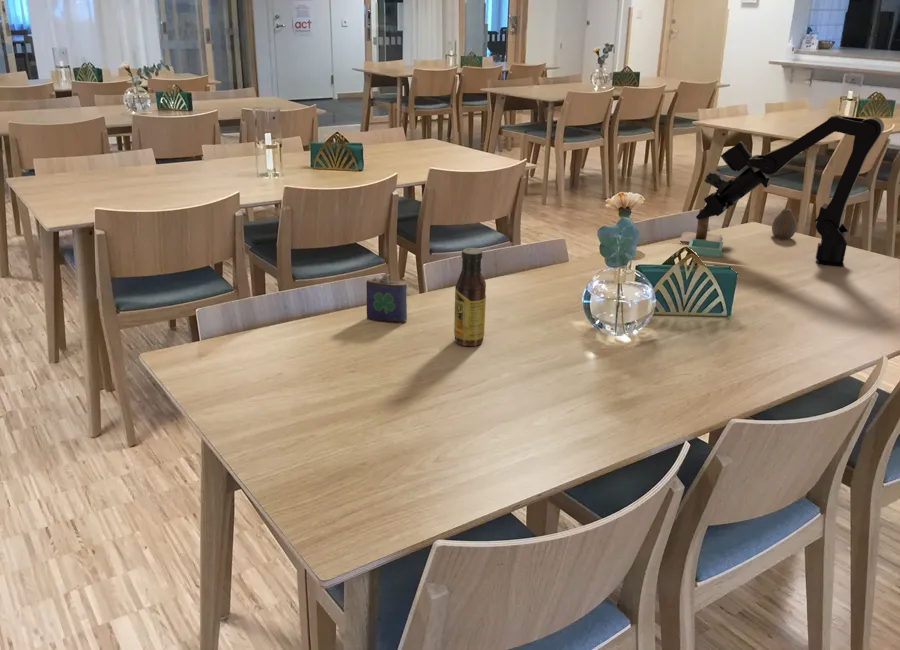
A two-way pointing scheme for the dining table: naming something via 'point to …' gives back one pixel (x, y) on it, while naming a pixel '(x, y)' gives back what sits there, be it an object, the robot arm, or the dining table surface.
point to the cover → (700, 232)
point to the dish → (706, 247)
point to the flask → (386, 300)
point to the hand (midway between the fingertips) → (699, 216)
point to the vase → (784, 225)
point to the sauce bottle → (470, 300)
